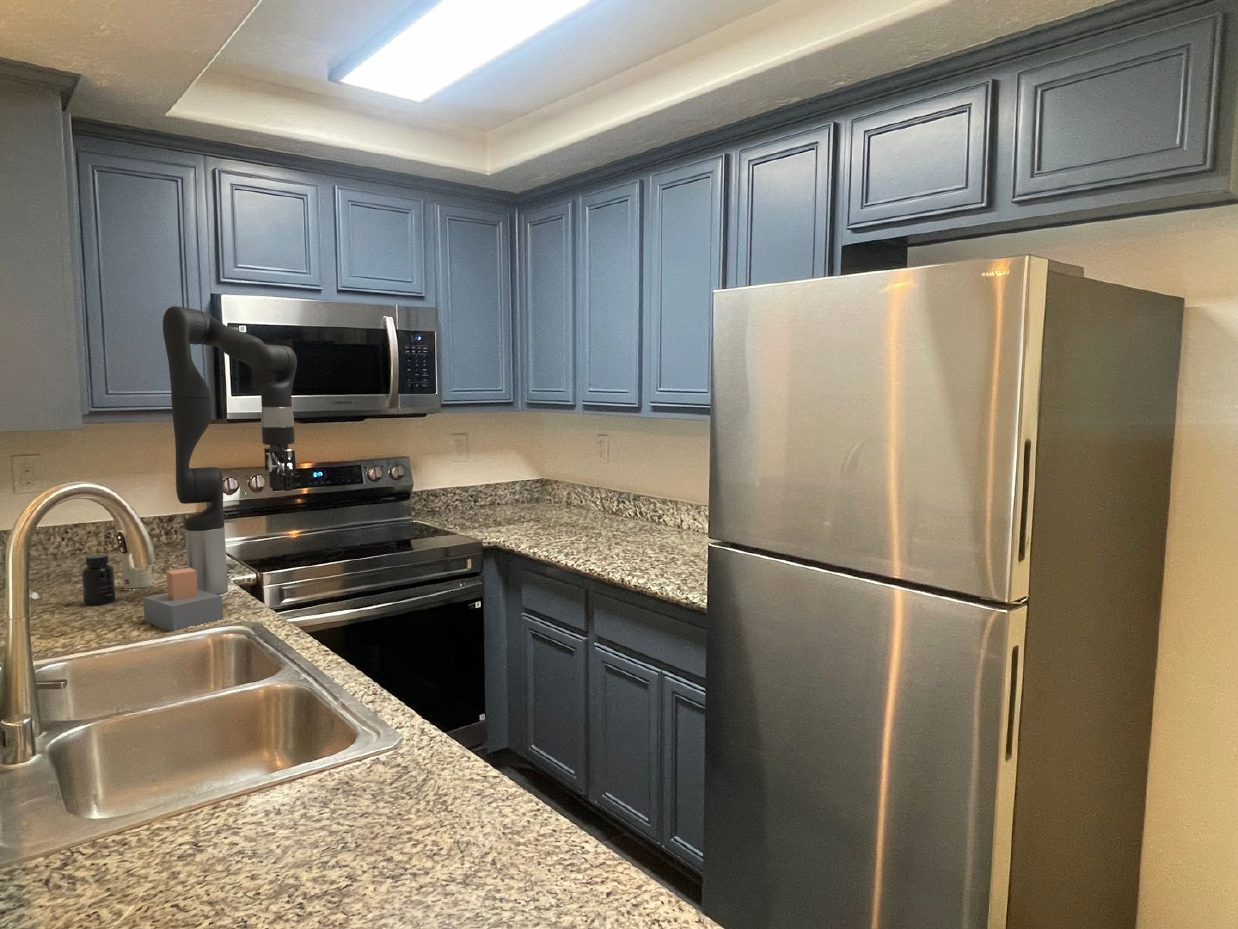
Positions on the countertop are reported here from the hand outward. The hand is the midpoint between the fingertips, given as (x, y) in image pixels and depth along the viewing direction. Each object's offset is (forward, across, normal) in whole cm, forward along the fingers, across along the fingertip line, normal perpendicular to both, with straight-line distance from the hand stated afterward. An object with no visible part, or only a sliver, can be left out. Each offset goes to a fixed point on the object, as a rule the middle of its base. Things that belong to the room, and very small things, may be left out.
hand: (281, 489), depth 202 cm
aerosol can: (+28, -42, -24) cm, 56 cm away
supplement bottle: (+28, -31, -35) cm, 55 cm away
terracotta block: (+22, +3, -25) cm, 33 cm away
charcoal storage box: (+28, +3, -25) cm, 38 cm away
